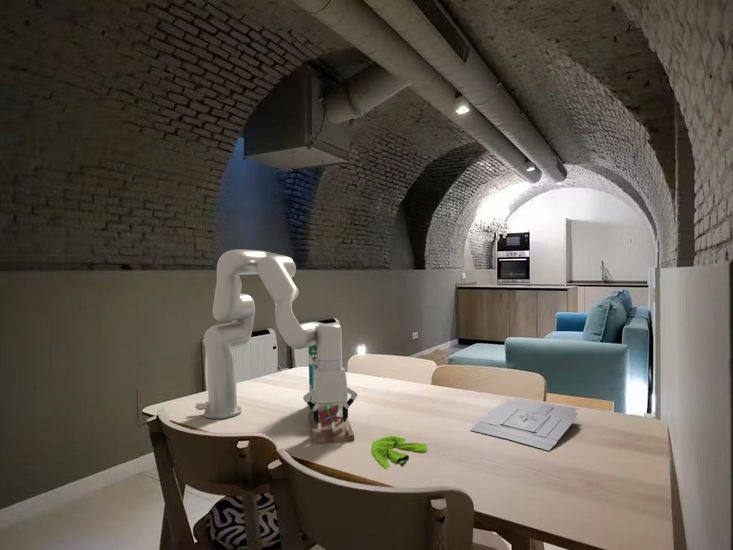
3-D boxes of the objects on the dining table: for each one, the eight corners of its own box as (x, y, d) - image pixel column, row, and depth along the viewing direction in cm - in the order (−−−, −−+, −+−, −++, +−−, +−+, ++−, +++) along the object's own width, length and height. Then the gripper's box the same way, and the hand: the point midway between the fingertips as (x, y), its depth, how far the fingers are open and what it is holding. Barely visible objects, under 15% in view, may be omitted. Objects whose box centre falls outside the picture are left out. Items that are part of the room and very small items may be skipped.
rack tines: (318, 437, 126) (317, 423, 126) (313, 411, 150) (313, 399, 150) (348, 434, 128) (348, 421, 127) (339, 409, 151) (339, 398, 151)
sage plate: (311, 418, 143) (311, 384, 143) (311, 417, 144) (310, 384, 144) (344, 415, 145) (344, 382, 144) (344, 414, 146) (343, 381, 146)
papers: (584, 418, 139) (583, 407, 138) (550, 460, 117) (549, 447, 116) (511, 403, 155) (510, 393, 155) (469, 438, 133) (468, 427, 133)
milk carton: (338, 402, 164) (337, 336, 164) (334, 410, 155) (332, 340, 155) (315, 402, 165) (313, 336, 165) (309, 409, 156) (308, 340, 156)
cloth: (390, 434, 133) (390, 426, 133) (454, 452, 119) (454, 444, 119) (345, 457, 117) (345, 448, 117) (413, 481, 103) (413, 471, 103)
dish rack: (313, 443, 125) (313, 438, 125) (309, 415, 150) (309, 411, 150) (354, 440, 127) (354, 435, 127) (343, 412, 152) (343, 408, 152)
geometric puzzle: (312, 422, 130) (327, 401, 129) (315, 414, 136) (330, 394, 136) (331, 436, 130) (346, 415, 129) (333, 428, 136) (348, 408, 136)
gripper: (301, 368, 127) (302, 428, 128) (359, 365, 131) (360, 423, 131) (300, 363, 135) (301, 419, 135) (356, 360, 138) (357, 415, 138)
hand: (330, 421), depth 133 cm, fingers open, 7 cm apart
